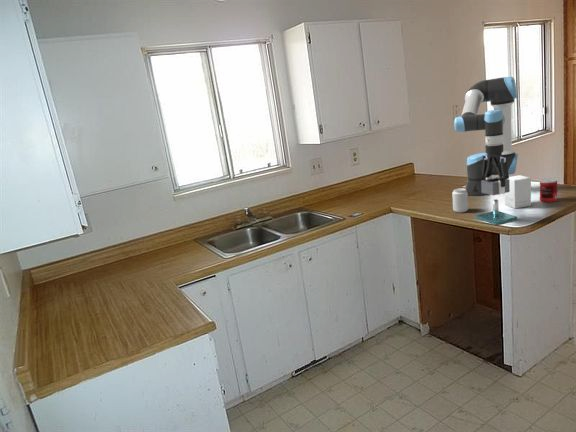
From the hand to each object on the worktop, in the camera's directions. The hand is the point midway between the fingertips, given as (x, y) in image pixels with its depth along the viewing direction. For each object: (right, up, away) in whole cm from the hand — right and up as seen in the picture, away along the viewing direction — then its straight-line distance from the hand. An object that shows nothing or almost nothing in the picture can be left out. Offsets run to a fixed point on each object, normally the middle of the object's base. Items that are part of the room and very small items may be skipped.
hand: (495, 191), depth 203 cm
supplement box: (+21, -6, +18) cm, 28 cm away
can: (-7, -9, +24) cm, 26 cm away
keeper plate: (+2, -13, +4) cm, 14 cm away
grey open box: (0, 0, 0) cm, 0 cm away
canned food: (+37, -4, +19) cm, 41 cm away
